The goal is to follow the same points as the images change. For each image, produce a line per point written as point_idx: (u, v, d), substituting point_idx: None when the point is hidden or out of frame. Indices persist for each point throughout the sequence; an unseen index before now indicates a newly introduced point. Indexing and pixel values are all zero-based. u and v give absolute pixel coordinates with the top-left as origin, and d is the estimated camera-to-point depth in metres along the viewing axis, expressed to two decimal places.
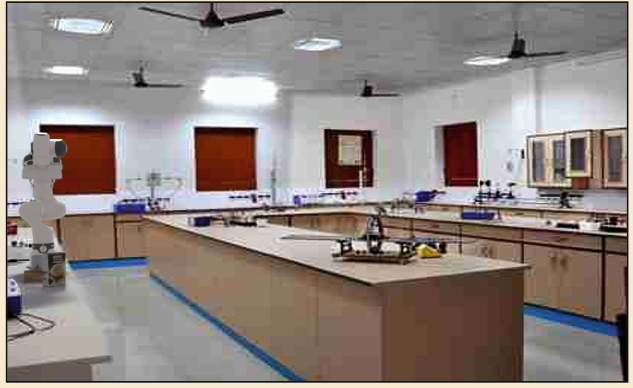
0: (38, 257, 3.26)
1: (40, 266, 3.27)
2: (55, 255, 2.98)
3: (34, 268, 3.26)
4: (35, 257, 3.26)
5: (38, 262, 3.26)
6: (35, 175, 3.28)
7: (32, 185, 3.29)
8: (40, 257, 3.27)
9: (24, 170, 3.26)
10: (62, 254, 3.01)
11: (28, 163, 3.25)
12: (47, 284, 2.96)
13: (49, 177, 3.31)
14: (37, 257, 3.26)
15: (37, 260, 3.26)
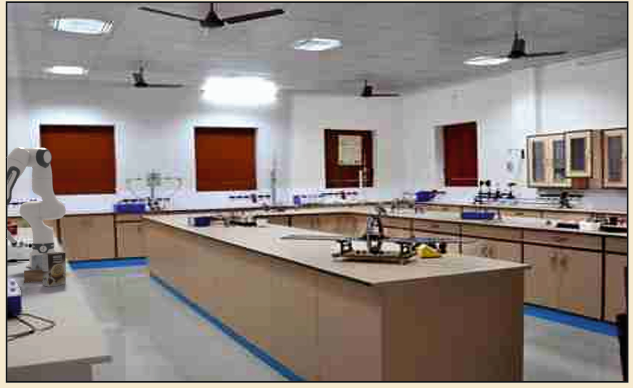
0: (38, 257, 3.26)
1: (40, 266, 3.27)
2: (55, 255, 2.98)
3: (34, 268, 3.26)
4: (35, 257, 3.26)
5: (38, 262, 3.26)
6: None
7: (10, 241, 3.26)
8: (40, 257, 3.27)
9: None
10: (62, 254, 3.01)
11: None
12: (47, 284, 2.96)
13: None
14: (37, 257, 3.26)
15: (37, 260, 3.26)
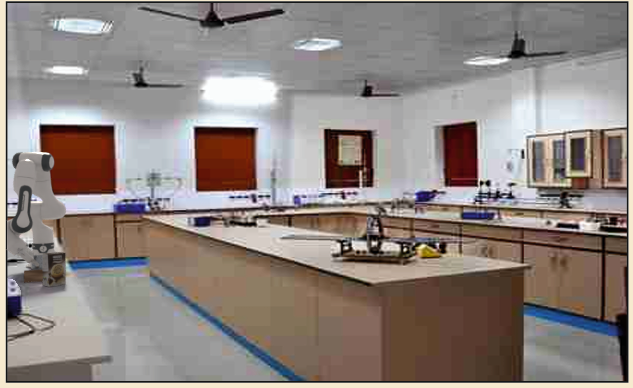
0: (38, 257, 3.26)
1: (40, 266, 3.27)
2: (55, 255, 2.98)
3: (34, 268, 3.26)
4: (35, 257, 3.26)
5: (38, 262, 3.26)
6: None
7: None
8: (40, 257, 3.27)
9: None
10: (62, 254, 3.01)
11: None
12: (47, 284, 2.96)
13: None
14: (37, 257, 3.26)
15: (37, 260, 3.26)
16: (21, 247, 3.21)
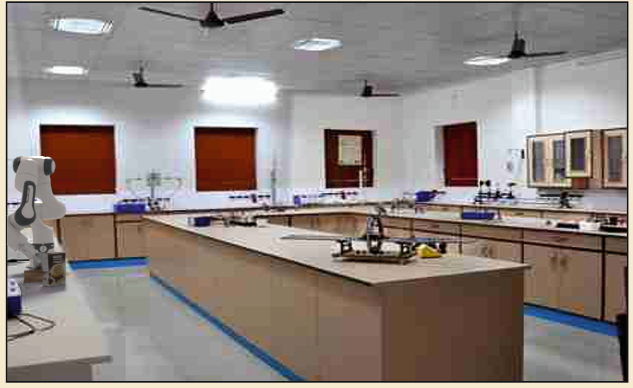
0: (40, 255, 3.13)
1: (42, 264, 3.14)
2: (55, 255, 2.98)
3: (36, 266, 3.13)
4: (37, 255, 3.12)
5: None
6: None
7: None
8: (42, 255, 3.14)
9: None
10: (62, 254, 3.01)
11: None
12: (47, 284, 2.96)
13: None
14: (39, 255, 3.13)
15: None
16: (22, 242, 3.08)
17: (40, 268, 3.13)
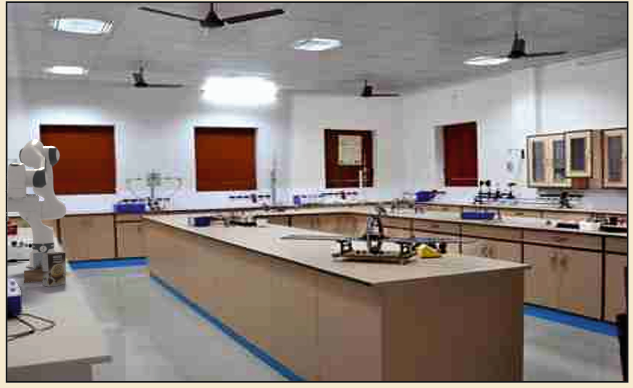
0: (40, 255, 3.13)
1: (42, 264, 3.14)
2: (55, 255, 2.98)
3: (36, 266, 3.13)
4: (37, 255, 3.12)
5: (40, 260, 3.13)
6: (9, 208, 3.11)
7: None
8: (42, 255, 3.14)
9: None
10: (62, 254, 3.01)
11: None
12: (47, 284, 2.96)
13: (24, 210, 3.14)
14: (39, 255, 3.13)
15: (38, 258, 3.13)
16: None
17: (40, 268, 3.13)
